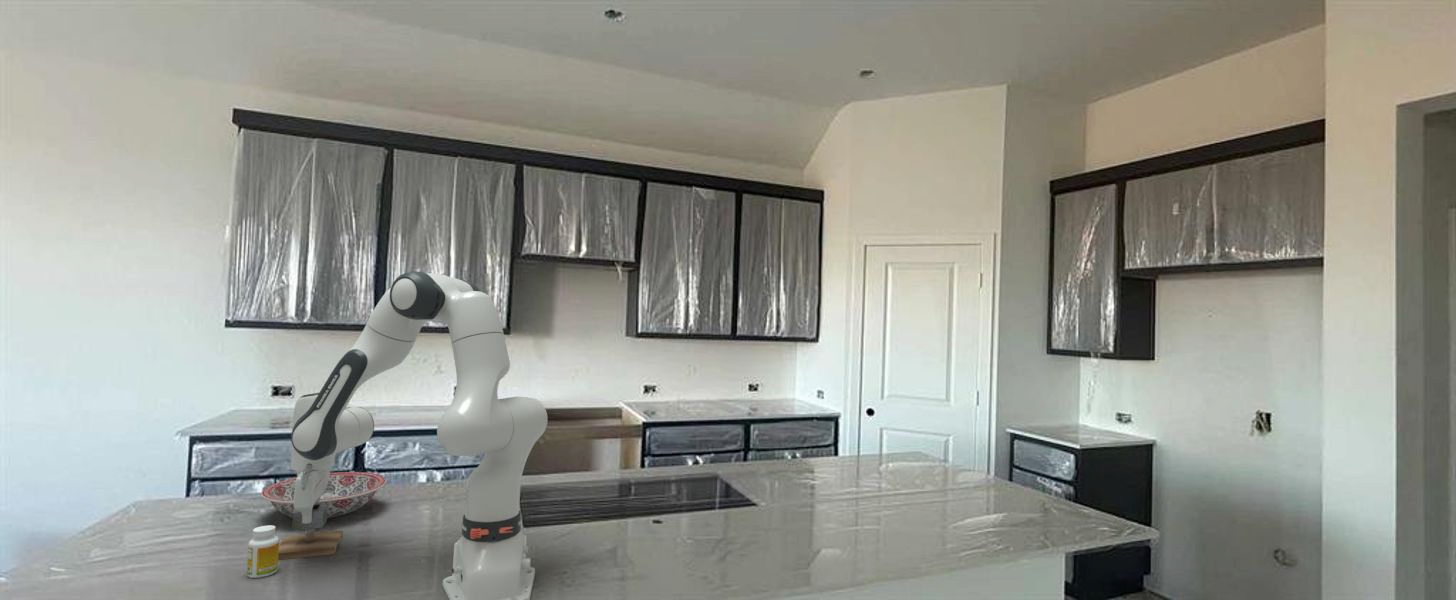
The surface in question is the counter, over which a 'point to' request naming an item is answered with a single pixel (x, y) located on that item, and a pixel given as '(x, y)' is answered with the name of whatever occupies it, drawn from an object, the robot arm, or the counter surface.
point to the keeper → (309, 544)
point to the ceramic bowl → (329, 492)
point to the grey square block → (317, 519)
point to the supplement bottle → (263, 552)
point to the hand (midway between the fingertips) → (310, 517)
